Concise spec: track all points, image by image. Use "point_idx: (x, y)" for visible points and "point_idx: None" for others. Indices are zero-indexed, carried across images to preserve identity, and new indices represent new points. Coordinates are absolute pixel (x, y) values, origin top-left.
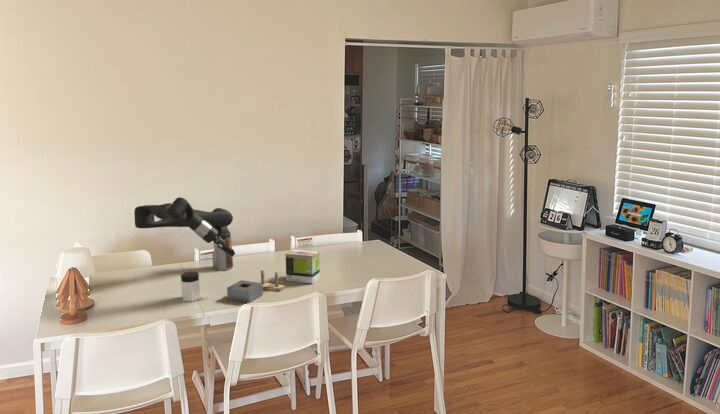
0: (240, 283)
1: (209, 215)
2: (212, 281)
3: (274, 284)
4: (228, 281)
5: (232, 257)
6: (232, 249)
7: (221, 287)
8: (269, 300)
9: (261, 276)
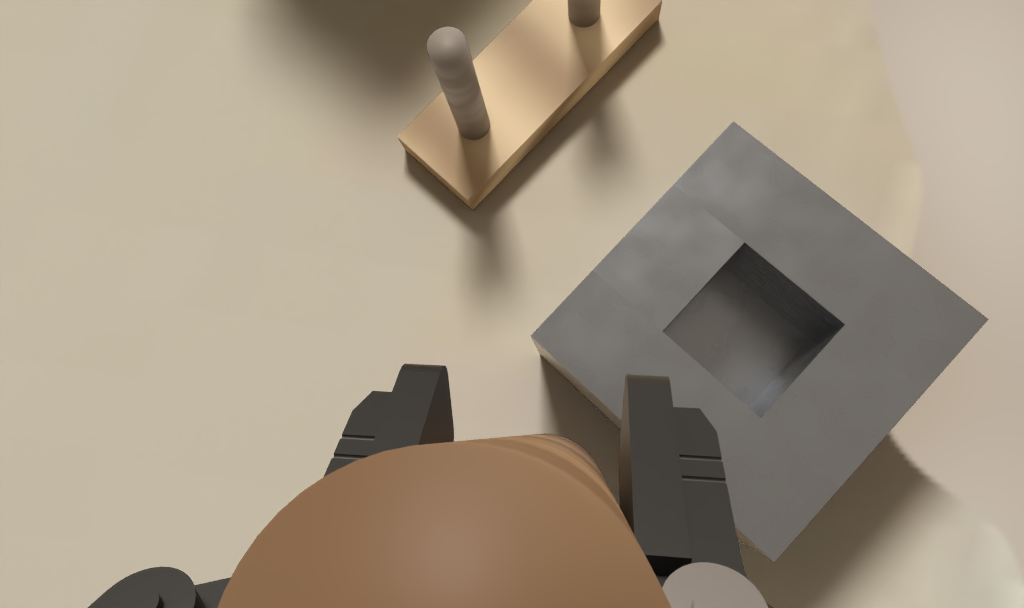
0: (656, 366)
1: None
2: (105, 588)
3: (522, 26)
4: (178, 426)
5: (564, 441)
6: (429, 411)
7: None
8: (874, 145)
9: (466, 95)
